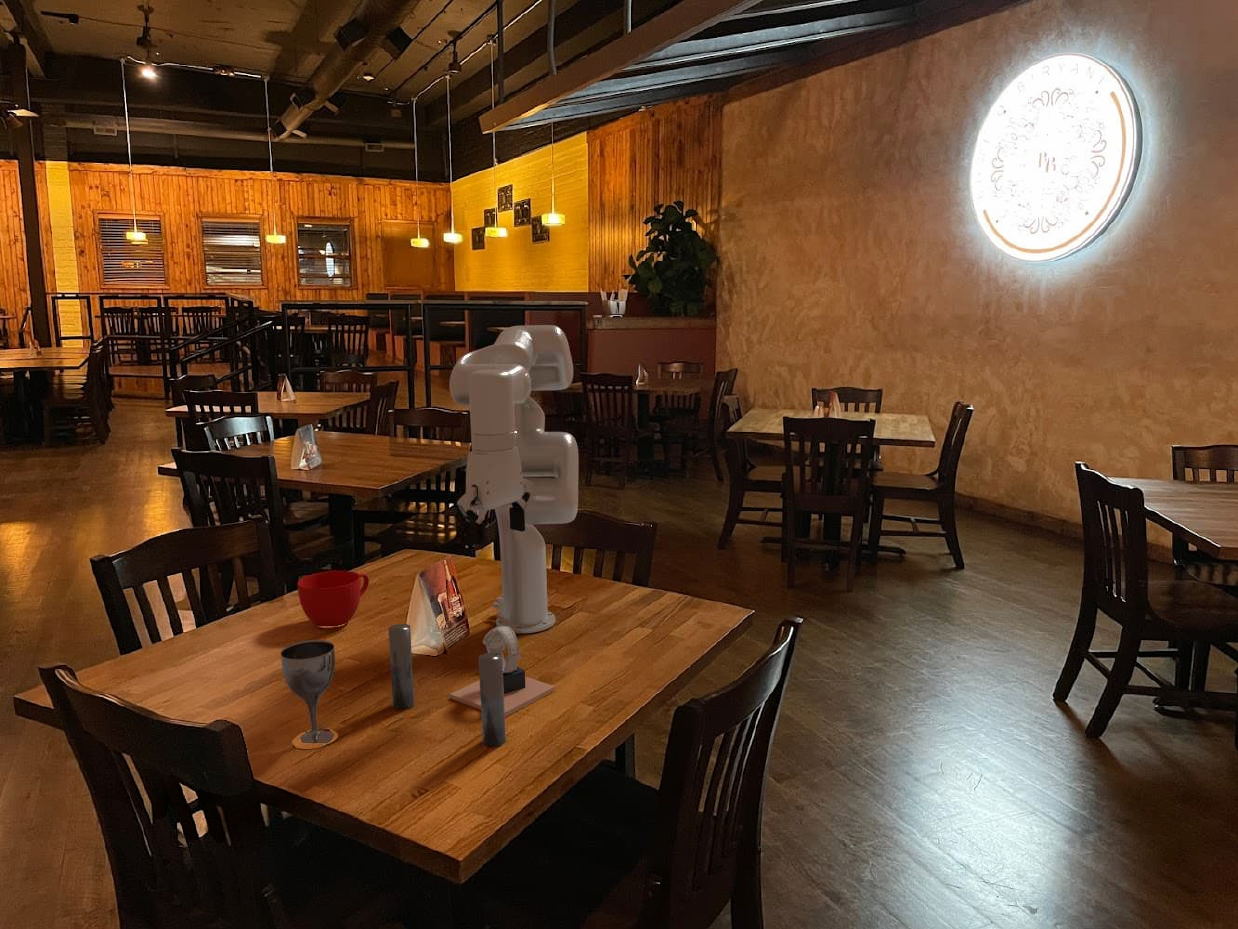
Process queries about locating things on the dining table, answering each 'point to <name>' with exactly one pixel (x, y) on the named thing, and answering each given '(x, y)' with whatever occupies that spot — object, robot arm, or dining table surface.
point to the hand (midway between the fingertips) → (498, 536)
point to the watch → (511, 671)
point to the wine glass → (310, 679)
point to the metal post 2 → (492, 699)
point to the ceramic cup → (331, 596)
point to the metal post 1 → (401, 666)
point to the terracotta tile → (505, 695)
